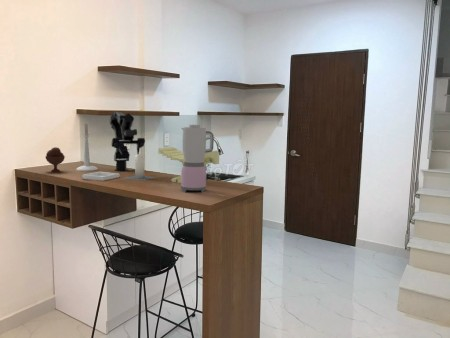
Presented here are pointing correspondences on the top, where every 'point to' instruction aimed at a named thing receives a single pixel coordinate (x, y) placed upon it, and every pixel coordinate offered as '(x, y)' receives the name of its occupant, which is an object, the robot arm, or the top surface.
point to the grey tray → (100, 176)
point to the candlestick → (86, 154)
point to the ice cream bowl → (55, 158)
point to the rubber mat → (139, 178)
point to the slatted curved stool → (178, 155)
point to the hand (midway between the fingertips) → (130, 154)
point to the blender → (195, 157)
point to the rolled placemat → (139, 166)
